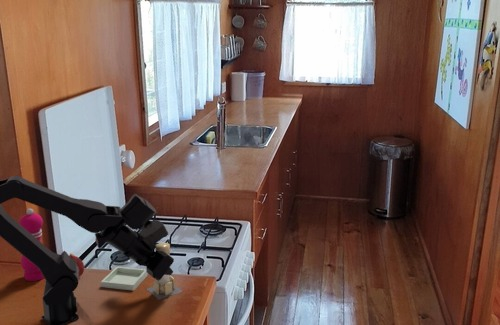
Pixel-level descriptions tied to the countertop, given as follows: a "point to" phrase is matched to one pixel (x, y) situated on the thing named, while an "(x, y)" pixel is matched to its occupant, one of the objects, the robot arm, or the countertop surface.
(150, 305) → the countertop surface
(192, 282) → the countertop surface
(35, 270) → the pepper mill
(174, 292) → the grey stand with brackets
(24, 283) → the countertop surface
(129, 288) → the tray
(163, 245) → the white and tan post
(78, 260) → the onion
